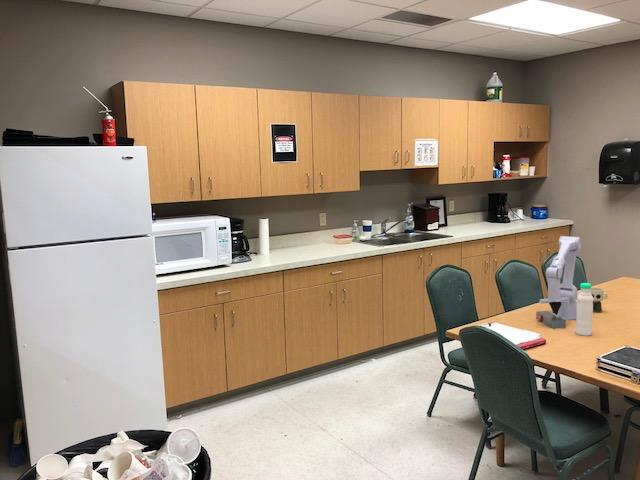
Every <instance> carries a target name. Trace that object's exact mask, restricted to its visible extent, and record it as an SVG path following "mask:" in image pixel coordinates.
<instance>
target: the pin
mask: <svg viewBox="0 0 640 480" xmlns="http://www.w3.org/2000/svg"><path fill="white" fill-rule="evenodd" d="M559 317H560V316H559ZM536 320H537V321H538V322H541V320H542V316H541V315H538V316H537V319H536Z"/></svg>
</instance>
